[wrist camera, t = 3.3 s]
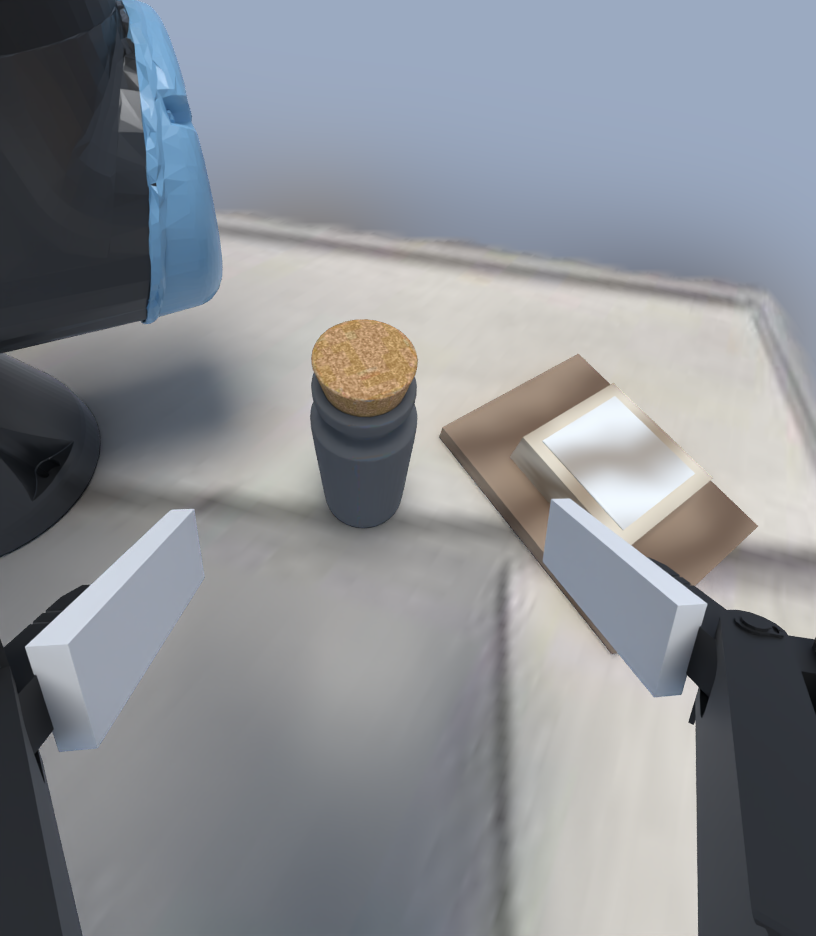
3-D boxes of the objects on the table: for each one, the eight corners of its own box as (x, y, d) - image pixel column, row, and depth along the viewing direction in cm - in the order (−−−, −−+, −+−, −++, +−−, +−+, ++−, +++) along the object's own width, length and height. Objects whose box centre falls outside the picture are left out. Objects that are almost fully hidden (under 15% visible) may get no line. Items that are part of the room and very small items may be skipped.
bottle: (395, 455, 33) (417, 306, 20) (407, 523, 31) (442, 405, 17) (322, 462, 32) (294, 311, 19) (328, 533, 30) (300, 416, 16)
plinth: (439, 437, 34) (449, 404, 30) (571, 364, 40) (595, 328, 36) (611, 653, 28) (654, 649, 24) (742, 532, 33) (795, 511, 29)
